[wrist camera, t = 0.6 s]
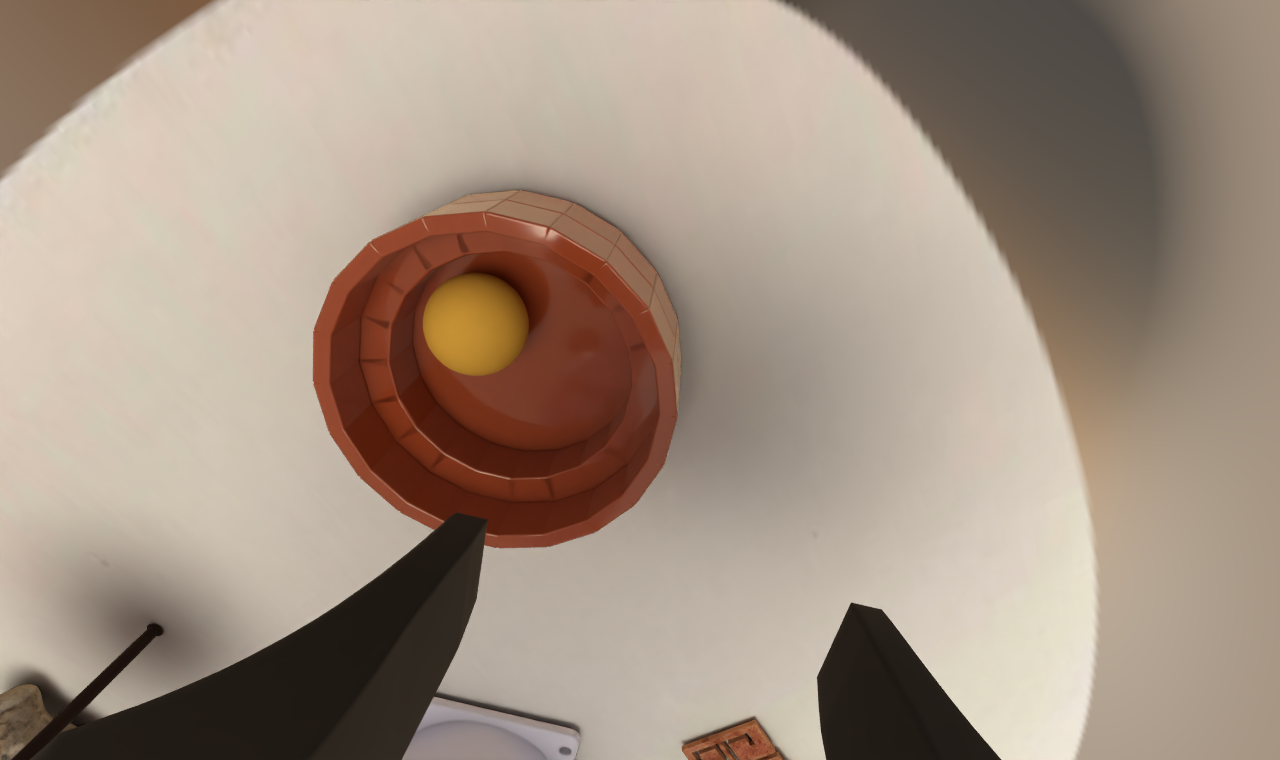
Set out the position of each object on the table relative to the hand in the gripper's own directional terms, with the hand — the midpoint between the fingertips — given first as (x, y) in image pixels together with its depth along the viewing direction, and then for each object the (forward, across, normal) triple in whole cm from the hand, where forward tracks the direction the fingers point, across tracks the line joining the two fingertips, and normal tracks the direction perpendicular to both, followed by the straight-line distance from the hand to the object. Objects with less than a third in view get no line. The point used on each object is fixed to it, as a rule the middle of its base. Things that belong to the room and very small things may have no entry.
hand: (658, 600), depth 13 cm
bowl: (+10, +5, 0) cm, 11 cm away
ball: (+8, +6, -2) cm, 10 cm away
